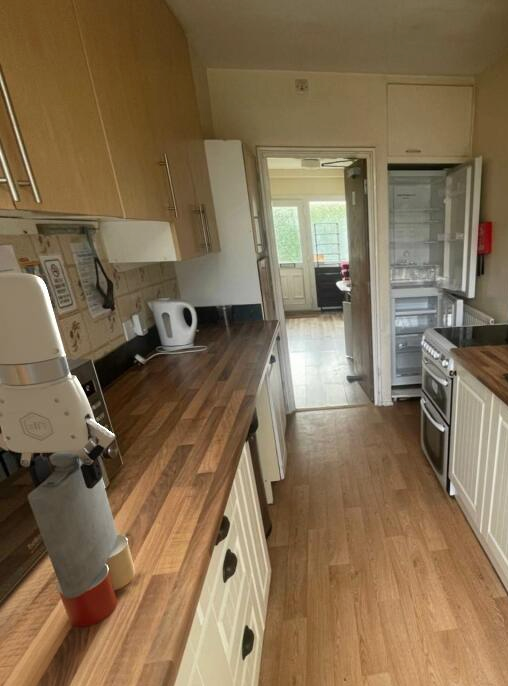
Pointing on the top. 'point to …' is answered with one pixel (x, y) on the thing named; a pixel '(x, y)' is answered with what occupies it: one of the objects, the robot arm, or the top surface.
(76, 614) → the can red
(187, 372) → the top surface
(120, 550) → the can cream
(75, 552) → the hip flask
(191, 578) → the top surface
